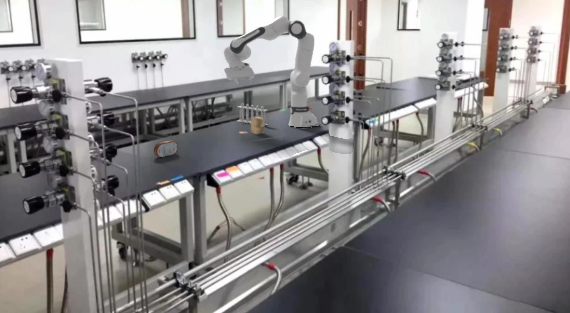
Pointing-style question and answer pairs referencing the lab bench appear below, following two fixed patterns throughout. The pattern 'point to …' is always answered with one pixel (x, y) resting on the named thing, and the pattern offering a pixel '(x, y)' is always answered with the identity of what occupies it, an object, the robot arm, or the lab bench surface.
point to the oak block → (257, 125)
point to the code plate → (243, 132)
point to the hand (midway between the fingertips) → (244, 83)
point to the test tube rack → (251, 113)
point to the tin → (165, 148)
